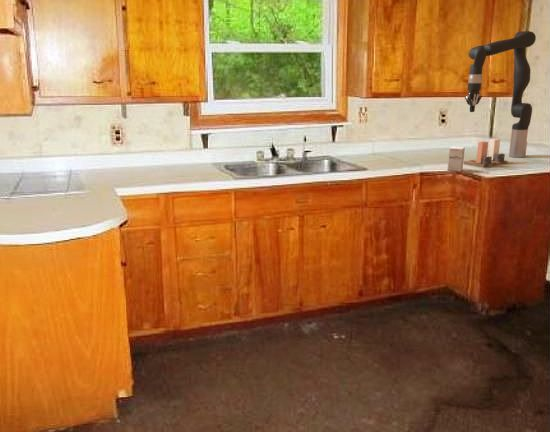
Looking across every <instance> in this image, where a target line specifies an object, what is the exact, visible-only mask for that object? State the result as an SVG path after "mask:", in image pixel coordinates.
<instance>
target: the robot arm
mask: <svg viewBox="0 0 550 432" xmlns="http://www.w3.org/2000/svg"><path fill="white" fill-rule="evenodd" d="M536 39H537V37H536V34H535V32H533V31H530V30H521V31H518V32H516V33H515V35H514V36H513V37H512V38H508V39H502V40H496V41H494V42H489V43H487V44H483V45H478V46H473V47H472V48H470V49H469V52H468V57H469V58H470V59H471V60H473V63H472V64H471V65H470V66H469V75H468V81H467V91H468V93H467V96H464V99H465V101H466V104H467V105H469V112H470V113H475V109H476V106H477V105H478V104H479V103H480V101H481V99H482V97H483V96H482V95H480V91H481V90H482V82H483V67H484V65H485V61H486V57H490V56H495V55H498V54H501V53H504V52H507V51H511V50H513V56H514V57H513V90H512V91H513V92H512V98H511V99H512V100H511V105H510V106H511V107H510V113H511V116H512V117H513V118H517V119H518V118H519V120H518V122H516V123H512V125H511V133H510V134H511V135H510V141H509V143H510V144H509V150H508V151H509V152H508V157H511V158H525V157H526V155H527V149H528V148H527V147H528V131H529V128H530V125H531V120H532V119H531V118H532V115H533V106H532V104H531V103H528V102H523V95H524V92H525V90H526V89H527V87H528V85H529V84H530V82H531V67H530V63H529V61H528V58H527V56H526V51H527V50H526V48H530V47H531V46H533V45H534V44H535V42H536V41H537V40H536Z"/></svg>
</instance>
